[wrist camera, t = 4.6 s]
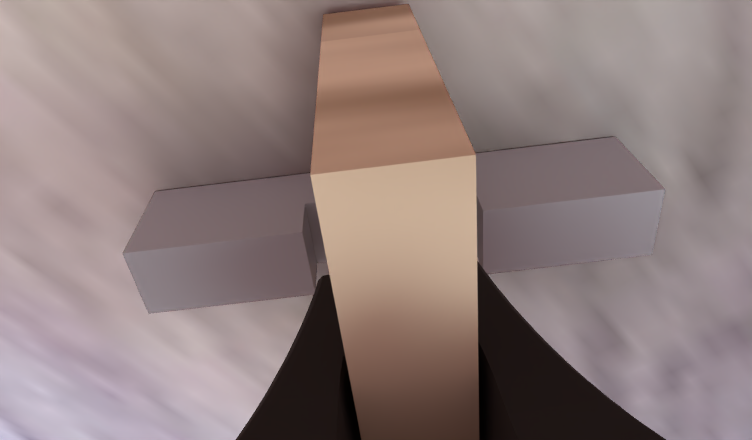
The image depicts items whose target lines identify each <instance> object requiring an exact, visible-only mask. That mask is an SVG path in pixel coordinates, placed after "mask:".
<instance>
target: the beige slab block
mask: <svg viewBox="0 0 752 440" xmlns="http://www.w3.org/2000/svg"><path fill="white" fill-rule="evenodd" d="M310 176H311V181H312V186H313V191H314V197H315V202H316V207H317V212H318V217H319V223H320V228H321V233H322V238H323V243H324V248H325V254H326V259H327V264H328V269H329V274H330V279H331V285H332V290H333V295H334V300H335V305H336V310H337V316H338V321H339V326H340V331H341V336H342V342H343V347H344V352H345V357H346V362H347V367H348V373H349V378H350V383H351V388H352V393H353V398H354V404H355V409H356V414H357V419H358V424H359V430H360V435H361V440H479V375H478V286H477V196H476V154H475V151H474V149H473V147H472V145H471V142H470V140H469V138H468V136H467V134H466V131H465V129H464V127H463V125H462V122H461V120H460V118H459V116H458V113H457V111H456V109H455V107H454V104H453V102H452V100H451V98H450V96H449V93H448V91H447V89H446V87H445V84H444V82H443V80H442V78H441V75H440V73H439V71H438V69H437V67H436V64H435V62H434V60H433V58H432V55H431V53H430V51H429V49H428V46H427V44H426V42H425V40H424V38H423V35H422V33H421V31H420V29H419V26H418V24H417V22H416V20H415V17H414V15H413V13H412V11H411V8H410V6H409V4H403V5H395V6H387V7H379V8H371V9H363V10H355V11H347V12H339V13H331V14H323V23H322V36H321V48H320V61H319V73H318V86H317V98H316V110H315V123H314V135H313V148H312V160H311V172H310Z"/></svg>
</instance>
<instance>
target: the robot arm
mask: <svg viewBox="0 0 752 440" xmlns="http://www.w3.org/2000/svg"><path fill="white" fill-rule="evenodd" d="M477 286H478V375H479V440H666V439H664V438H663V437H661V436H660V435H658V434H657V433H655V432H654V431H653V430H651V429H650V428H648V427H647V426H645V425H644V424H642V423H641V422H640V421H638V420H637V419H635V418H634V417H633V416H631V415H630V414H629V413H627V412H626V411H625V410H624V409H622V408H621V407H620V406H618V405H617V404H616V403H615V402H613V401H612V400H611V399H609V398H608V397H607V396H606V395H604V394H603V393H602V392H601V391H600V390H598V389H597V388H596V387H595V386H594V385H592V384H591V383H590V382H589V381H588V380H586V379H585V378H584V377H583V376H582V375H581V374H580V373H578V372H577V371H576V370H575V369H574V368H573V367H572V366H571V365H570V364H569V363H567V362H566V361H565V360H564V359H563V358H562V357H561V356H560V355H559V354H558V353H557V352H556V351H555V350H554V349H553V348H552V347H551V346H550V345H549V344H548V343H547V342H546V341H545V340H544V339H543V338H542V337H541V336H540V335H539V334H538V333H537V332H536V331H535V330H534V329H533V328H532V327H531V325H530V324H529V323H528V322H527V321H526V320H525V319H524V318H523V317H522V316H521V315H520V314H519V312H518V311H517V310H516V309H515V308H514V307H513V306H512V304H511V303H510V302H509V301H508V300H507V299H506V297H505V296H504V295H503V294H502V292H501V291H500V290H499V289H498V288H497V286H496V285H495V284H494V282H493V281H492V280H491V279H490V277H489V276H488V275H487V273H486V272H485V270H484V269H483V268H482V266H481V265H480V263H479V262H478V261H477ZM236 440H361V435H360V430H359V424H358V419H357V414H356V409H355V404H354V398H353V393H352V388H351V383H350V378H349V373H348V367H347V362H346V357H345V352H344V347H343V342H342V336H341V331H340V326H339V321H338V316H337V310H336V305H335V300H334V295H333V290H332V285H331V279H330V275H326V276H322V277H321V278H320V279H319V280H318V283H317V286H316V290H315V292H314V295H313V298H312V301H311V304H310V306H309V309H308V311H307V314H306V316H305V318H304V321H303V323H302V325H301V327H300V330H299V332H298V334H297V336H296V338H295V340H294V342H293V344H292V346H291V348H290V351H289V353H288V355H287V357H286V358H285V360H284V362H283V364H282V366H281V368H280V369H279V371H278V373H277V375H276V377H275V378H274V380H273V382H272V384H271V386H270V387H269V389H268V391H267V393H266V394H265V396H264V398H263V399H262V401H261V402H260V404H259V406H258V407H257V409H256V410H255V412H254V414H253V415H252V417H251V418H250V420H249V421H248V423H247V424H246V426H245V427H244V428H243V430H242V431H241V433H240V434H239V436H238V437H237V439H236Z"/></svg>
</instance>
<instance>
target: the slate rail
mask: <svg viewBox="0 0 752 440" xmlns="http://www.w3.org/2000/svg"><path fill="white" fill-rule="evenodd" d="M475 154H476V196H477V257H478V260H479V263H480V265H481V266H482V268H483V269H484V270H485V272H486V273H487V274H493V273H501V272H510V271H518V270H527V269H535V268H544V267H552V266H561V265H570V264H578V263H587V262H595V261H604V260H612V259H621V258H630V257H638V256H647V255H652V253H653V248H654V243H655V238H656V233H657V229H658V224H659V219H660V214H661V209H662V204H663V199H664V194H665V188H664V187H663V186H662V185H661V184H660V183H659V182H658V181H657V180H656V179H655V178H654V177H653V176H652V175H651V174H650V173H649V171H648V170H647V169H646V168H645V167H644V166H643V165H642V164H641V163H640V162H639V161H638V160H637V159H636V158H635V157H634V156H633V155H632V153H631V152H630V151H629V150H628V149H627V148H626V147H625V146H624V145H623V144H622V143H621V142H620V141H619V140H618V139H617V138H616V137H608V138H600V139H591V140H583V141H575V142H566V143H558V144H549V145H541V146H533V147H524V148H516V149H507V150H499V151H491V152H482V153H475ZM123 256H124V258H125V260H126V263H127V265H128V267H129V269H130V272H131V274H132V276H133V279H134V281H135V283H136V286H137V288H138V290H139V292H140V295H141V297H142V299H143V302H144V304H145V306H146V309H147V311H148V313H149V314H150V313H159V312H167V311H176V310H184V309H193V308H201V307H210V306H218V305H227V304H236V303H244V302H253V301H261V300H270V299H278V298H287V297H296V296H304V295H313V294H314V292H315V290H316V273H317V263H324V262H327V259H326V254H325V248H324V243H323V238H322V233H321V228H320V223H319V217H318V212H317V207H316V202H315V197H314V191H313V186H312V181H311V176H310V173H306V174H298V175H289V176H281V177H272V178H264V179H256V180H247V181H239V182H230V183H222V184H214V185H205V186H197V187H188V188H180V189H172V190H163V191H155V192H154V194H153V196H152V198H151V200H150V202H149V204H148V206H147V208H146V210H145V212H144V213H143V215H142V217H141V219H140V221H139V223H138V225H137V227H136V229H135V231H134V232H133V234H132V236H131V238H130V240H129V242H128V244H127V246H126V248H125V250H124V251H123Z"/></svg>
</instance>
